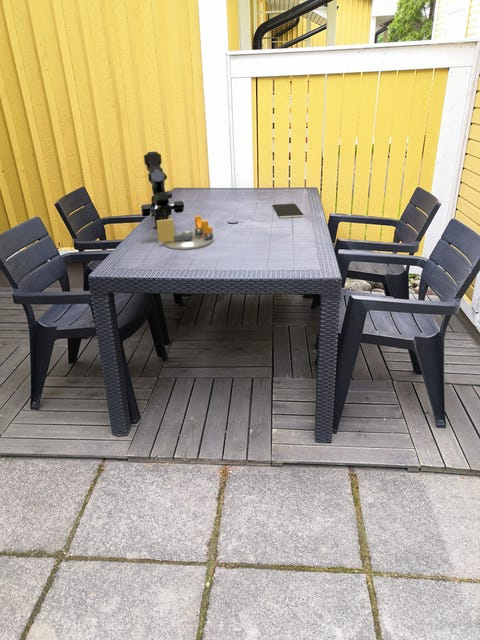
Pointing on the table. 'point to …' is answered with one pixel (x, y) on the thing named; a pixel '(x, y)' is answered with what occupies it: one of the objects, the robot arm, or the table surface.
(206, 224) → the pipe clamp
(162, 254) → the table surface
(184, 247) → the dial plate
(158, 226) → the tan upright panel
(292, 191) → the table surface
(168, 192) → the robot arm
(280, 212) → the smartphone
